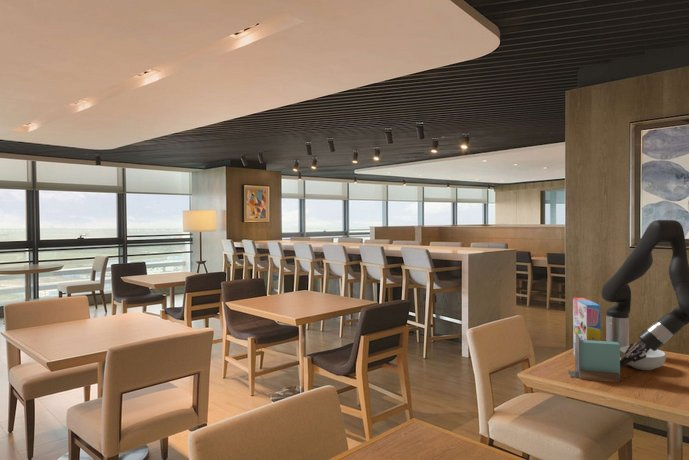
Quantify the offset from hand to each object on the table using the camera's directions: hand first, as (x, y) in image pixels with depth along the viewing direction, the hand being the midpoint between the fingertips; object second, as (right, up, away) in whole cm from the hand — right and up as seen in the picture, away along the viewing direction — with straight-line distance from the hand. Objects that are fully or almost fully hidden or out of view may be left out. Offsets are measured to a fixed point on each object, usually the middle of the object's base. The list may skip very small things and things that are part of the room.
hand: (620, 365), depth 182 cm
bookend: (-16, -5, +5) cm, 17 cm away
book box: (-7, -5, +2) cm, 9 cm away
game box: (-2, -5, +22) cm, 23 cm away
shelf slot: (-8, -5, +3) cm, 10 cm away
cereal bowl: (+17, -5, +14) cm, 23 cm away
